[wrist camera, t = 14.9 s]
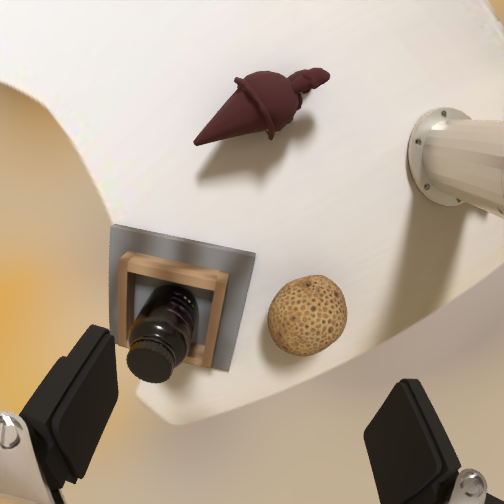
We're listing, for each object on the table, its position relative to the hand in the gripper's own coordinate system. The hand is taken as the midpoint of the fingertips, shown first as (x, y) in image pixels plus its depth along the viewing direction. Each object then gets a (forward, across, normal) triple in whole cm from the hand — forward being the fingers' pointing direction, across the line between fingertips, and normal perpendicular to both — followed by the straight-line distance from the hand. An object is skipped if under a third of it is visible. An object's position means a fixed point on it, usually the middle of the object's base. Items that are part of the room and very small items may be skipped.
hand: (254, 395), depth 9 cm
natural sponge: (+28, -8, +10) cm, 31 cm away
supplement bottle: (+27, +8, +15) cm, 32 cm away
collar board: (+28, +8, +15) cm, 33 cm away
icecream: (+29, +2, -11) cm, 31 cm away
